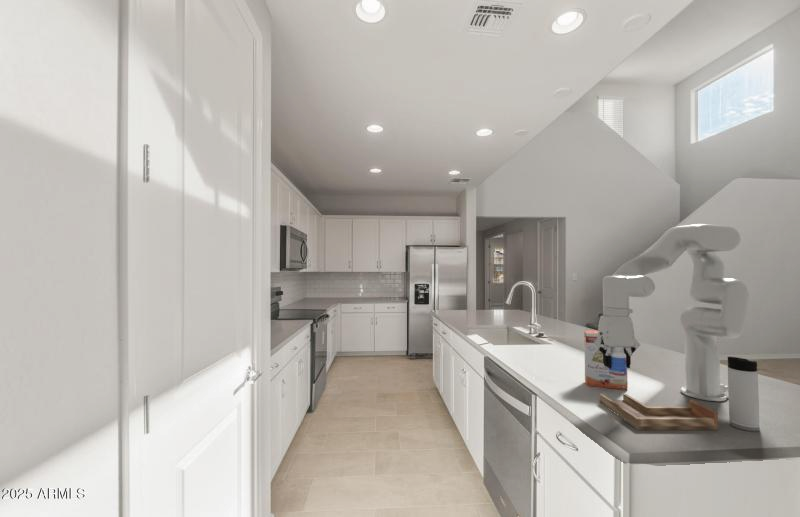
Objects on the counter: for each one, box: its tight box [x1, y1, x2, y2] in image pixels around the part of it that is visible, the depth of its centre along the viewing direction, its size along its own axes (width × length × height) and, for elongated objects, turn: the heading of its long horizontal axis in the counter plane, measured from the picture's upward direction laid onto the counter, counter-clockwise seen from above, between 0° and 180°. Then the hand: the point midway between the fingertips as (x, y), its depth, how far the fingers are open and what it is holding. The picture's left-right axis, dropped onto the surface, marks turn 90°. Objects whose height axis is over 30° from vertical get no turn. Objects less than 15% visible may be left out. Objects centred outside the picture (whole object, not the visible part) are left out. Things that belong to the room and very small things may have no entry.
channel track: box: [599, 393, 719, 431], centre depth 110 cm, size 22×20×5 cm
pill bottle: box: [608, 347, 628, 377], centre depth 118 cm, size 6×5×10 cm
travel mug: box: [727, 356, 760, 432], centre depth 102 cm, size 6×7×20 cm
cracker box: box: [583, 330, 629, 390], centre depth 138 cm, size 14×6×21 cm, turn 68°
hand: (616, 366), depth 118 cm, fingers closed on pill bottle, 5 cm apart
